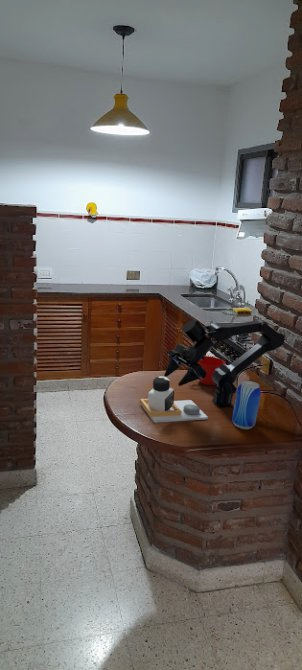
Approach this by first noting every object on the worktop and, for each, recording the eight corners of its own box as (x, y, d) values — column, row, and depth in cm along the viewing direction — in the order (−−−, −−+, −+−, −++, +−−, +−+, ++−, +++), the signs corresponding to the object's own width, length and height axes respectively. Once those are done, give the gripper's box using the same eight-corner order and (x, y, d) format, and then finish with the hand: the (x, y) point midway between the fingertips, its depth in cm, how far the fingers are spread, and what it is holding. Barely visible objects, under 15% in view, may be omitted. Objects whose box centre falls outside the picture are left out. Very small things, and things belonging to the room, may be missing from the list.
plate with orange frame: (190, 401, 194) (191, 396, 193) (207, 419, 181) (208, 413, 180) (139, 404, 186) (140, 398, 186) (152, 422, 173) (153, 416, 172)
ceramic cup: (181, 376, 220) (183, 355, 218) (216, 377, 224) (220, 356, 221) (188, 387, 208) (191, 365, 205) (226, 388, 212) (229, 366, 209)
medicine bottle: (164, 414, 178) (165, 387, 173) (148, 408, 182) (147, 381, 176) (174, 404, 184) (174, 377, 178) (157, 399, 187) (157, 372, 182)
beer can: (249, 432, 174) (257, 391, 169) (227, 424, 178) (234, 384, 173) (257, 424, 181) (265, 384, 176) (236, 417, 185) (243, 377, 180)
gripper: (174, 329, 187) (146, 359, 185) (204, 344, 172) (175, 377, 170) (188, 347, 194) (162, 376, 191) (218, 363, 179) (190, 395, 176)
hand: (171, 380), depth 182 cm, fingers open, 9 cm apart
